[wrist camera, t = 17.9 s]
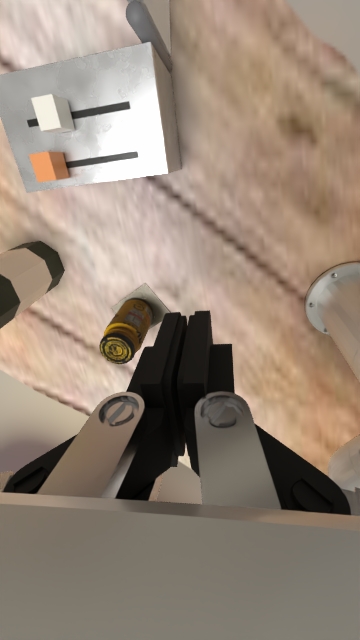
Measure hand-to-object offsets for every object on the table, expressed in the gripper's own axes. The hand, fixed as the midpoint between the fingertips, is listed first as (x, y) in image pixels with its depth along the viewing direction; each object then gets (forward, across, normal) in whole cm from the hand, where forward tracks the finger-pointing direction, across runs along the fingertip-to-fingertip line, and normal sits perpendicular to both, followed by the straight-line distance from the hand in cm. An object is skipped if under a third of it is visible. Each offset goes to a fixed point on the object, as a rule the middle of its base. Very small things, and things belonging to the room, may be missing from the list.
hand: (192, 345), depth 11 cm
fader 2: (+23, +15, -7) cm, 29 cm away
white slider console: (+35, +12, -10) cm, 39 cm away
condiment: (+35, +14, +16) cm, 41 cm away
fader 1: (+23, +14, -12) cm, 29 cm away
